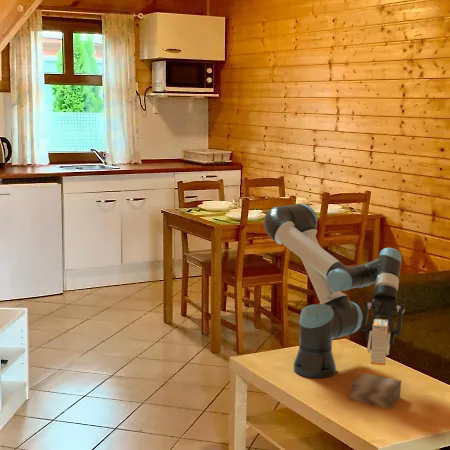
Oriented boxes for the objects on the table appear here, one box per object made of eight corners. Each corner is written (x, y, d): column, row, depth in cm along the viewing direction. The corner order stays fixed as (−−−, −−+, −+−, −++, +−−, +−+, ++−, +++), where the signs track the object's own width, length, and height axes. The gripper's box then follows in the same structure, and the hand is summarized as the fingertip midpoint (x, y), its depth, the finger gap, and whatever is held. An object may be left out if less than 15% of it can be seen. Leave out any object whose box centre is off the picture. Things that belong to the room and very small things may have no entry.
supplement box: (385, 366, 225) (387, 326, 224) (370, 364, 227) (372, 324, 225) (386, 357, 233) (388, 319, 231) (371, 356, 235) (373, 317, 233)
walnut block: (350, 400, 231) (351, 383, 230) (362, 390, 240) (362, 373, 239) (389, 409, 224) (390, 391, 223) (399, 398, 234) (400, 380, 233)
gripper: (414, 298, 239) (407, 360, 226) (360, 293, 245) (350, 353, 232) (413, 286, 233) (406, 349, 220) (358, 281, 239) (348, 343, 226)
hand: (377, 351), depth 226 cm, fingers closed on supplement box, 5 cm apart
